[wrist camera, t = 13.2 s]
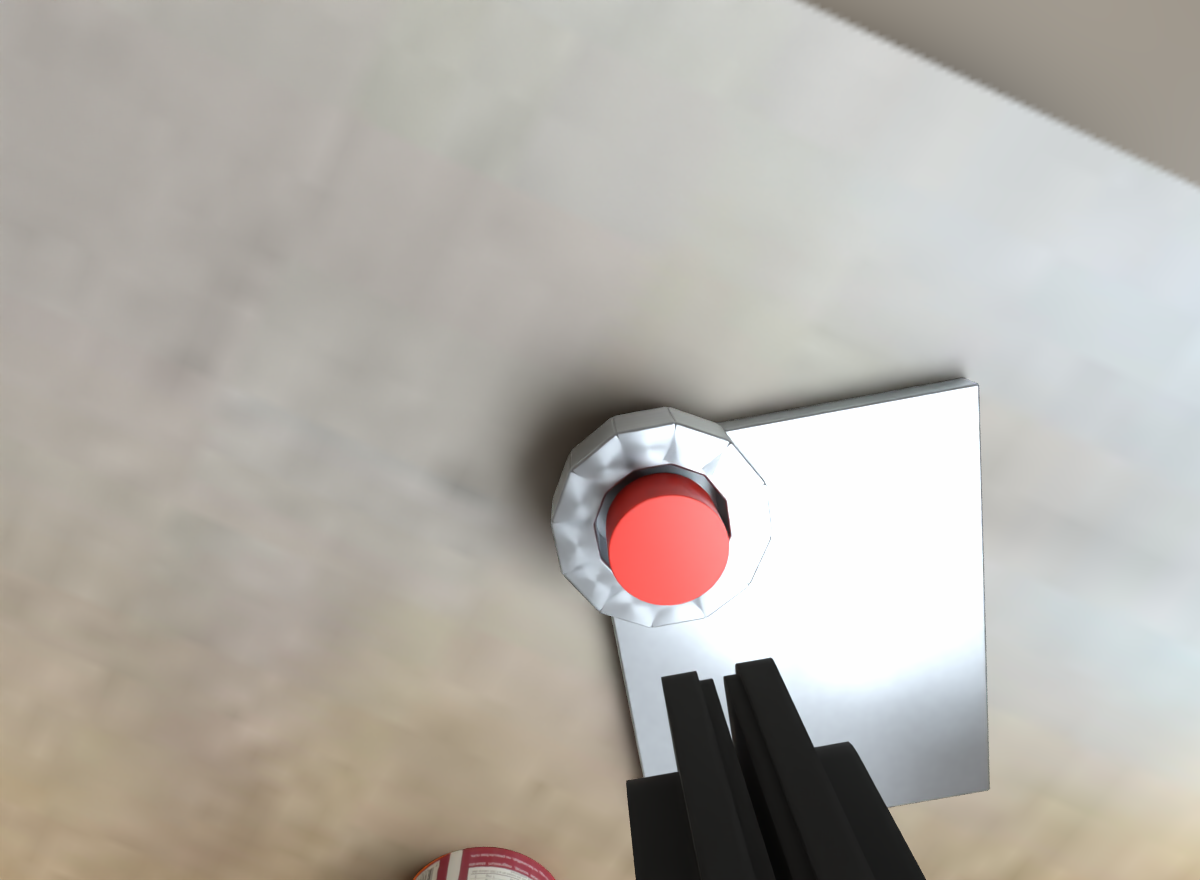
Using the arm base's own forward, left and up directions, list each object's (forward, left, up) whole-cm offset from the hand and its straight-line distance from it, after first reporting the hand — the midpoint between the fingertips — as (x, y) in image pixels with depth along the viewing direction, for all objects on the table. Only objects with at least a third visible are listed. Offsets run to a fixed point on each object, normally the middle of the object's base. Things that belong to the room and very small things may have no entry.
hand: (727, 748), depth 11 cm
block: (+6, +4, -14) cm, 16 cm away
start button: (+1, 0, -10) cm, 10 cm away
